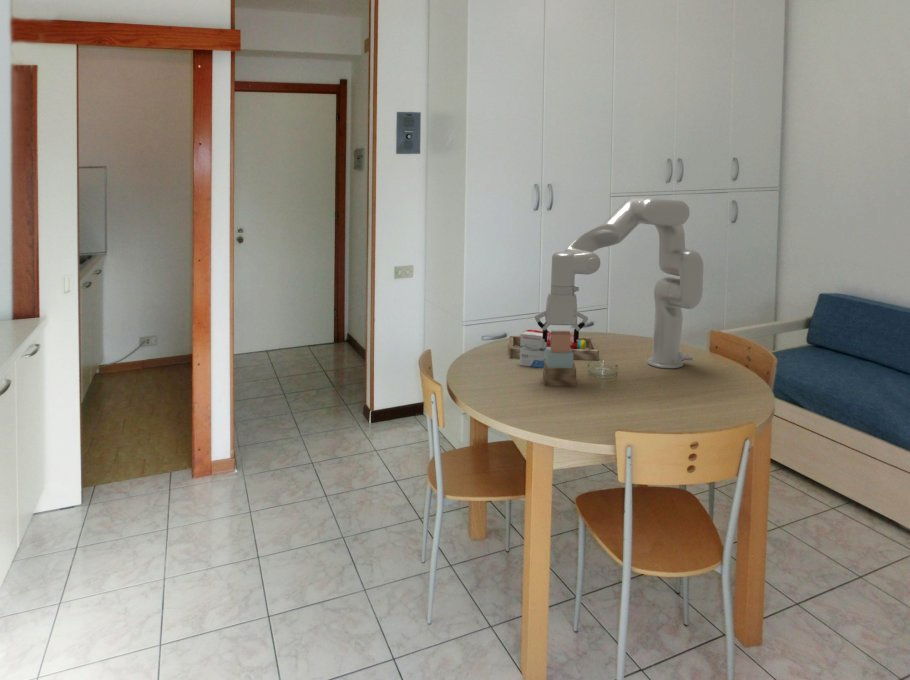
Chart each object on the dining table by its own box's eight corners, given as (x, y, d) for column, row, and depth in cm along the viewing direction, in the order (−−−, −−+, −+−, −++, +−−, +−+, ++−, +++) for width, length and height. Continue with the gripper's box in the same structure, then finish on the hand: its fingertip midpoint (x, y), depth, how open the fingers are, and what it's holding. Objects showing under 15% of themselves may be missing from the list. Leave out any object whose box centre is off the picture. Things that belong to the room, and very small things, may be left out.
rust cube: (568, 348, 238) (569, 330, 237) (569, 352, 232) (570, 335, 231) (550, 347, 239) (551, 330, 237) (551, 352, 233) (551, 334, 231)
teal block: (569, 361, 240) (569, 347, 239) (572, 368, 233) (573, 353, 231) (545, 361, 241) (546, 347, 239) (548, 368, 233) (548, 353, 232)
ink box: (546, 364, 257) (547, 333, 254) (541, 368, 253) (543, 336, 250) (523, 361, 261) (524, 330, 258) (519, 365, 256) (520, 333, 254)
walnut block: (572, 378, 242) (573, 361, 241) (575, 387, 233) (576, 369, 231) (543, 377, 243) (543, 360, 242) (544, 386, 233) (545, 368, 232)
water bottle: (529, 327, 285) (591, 334, 275) (528, 347, 286) (589, 354, 276) (519, 328, 274) (583, 335, 264) (518, 349, 275) (581, 357, 265)
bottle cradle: (592, 346, 282) (592, 337, 281) (598, 360, 263) (598, 350, 262) (509, 344, 284) (509, 335, 283) (509, 358, 265) (509, 348, 264)
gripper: (588, 288, 233) (585, 339, 238) (535, 287, 234) (533, 338, 239) (590, 293, 226) (588, 345, 230) (536, 292, 227) (534, 343, 231)
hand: (560, 341), depth 234 cm, fingers open, 9 cm apart
